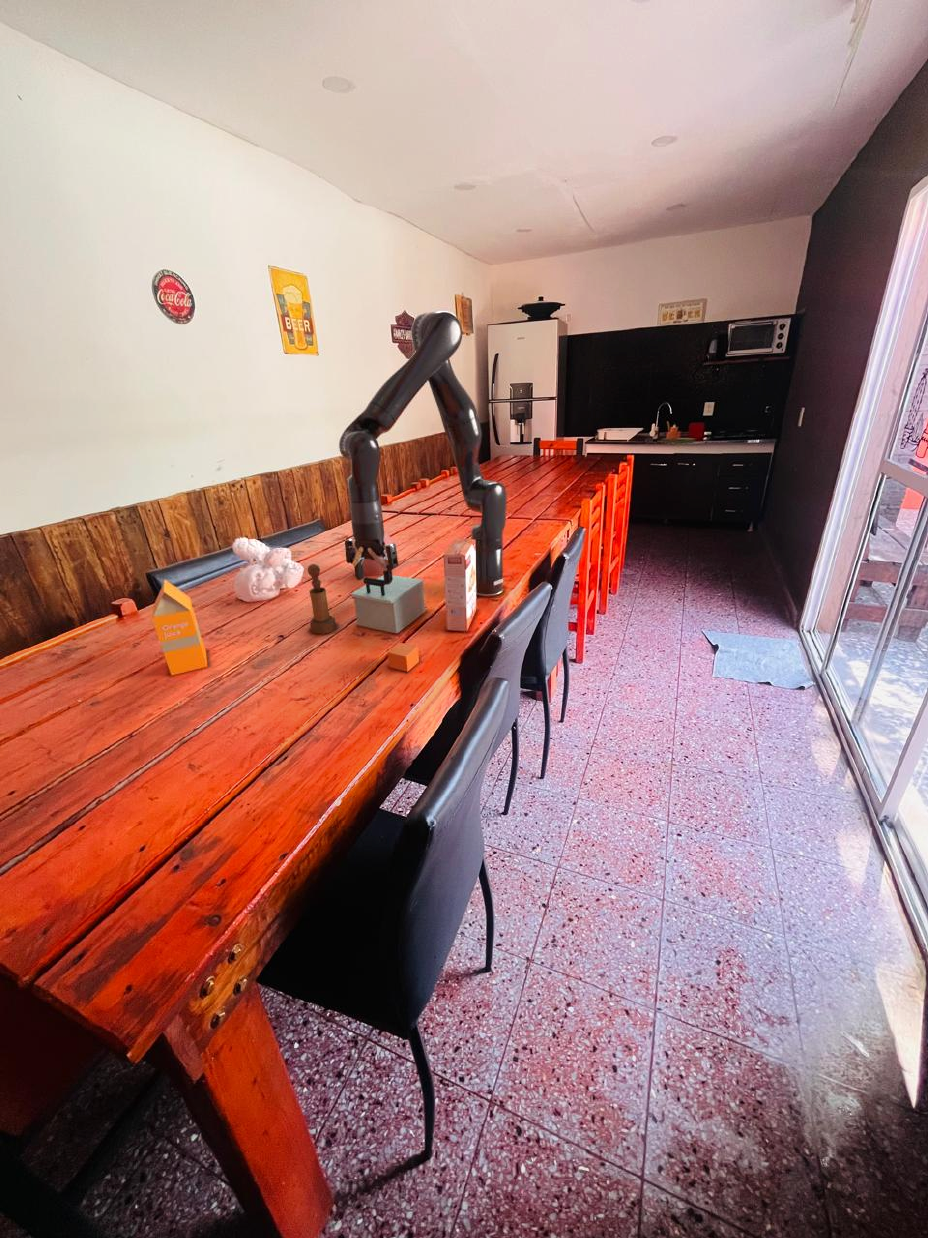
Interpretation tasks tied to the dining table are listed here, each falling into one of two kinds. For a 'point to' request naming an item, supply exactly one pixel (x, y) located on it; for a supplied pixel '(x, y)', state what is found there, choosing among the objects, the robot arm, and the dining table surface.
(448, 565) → the cracker box
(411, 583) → the box lid
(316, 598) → the mortar and pestle
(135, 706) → the dining table surface
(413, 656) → the orange block
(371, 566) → the balloon
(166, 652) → the orange juice
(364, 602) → the grey storage box
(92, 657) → the dining table surface
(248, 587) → the white lumpy blob
